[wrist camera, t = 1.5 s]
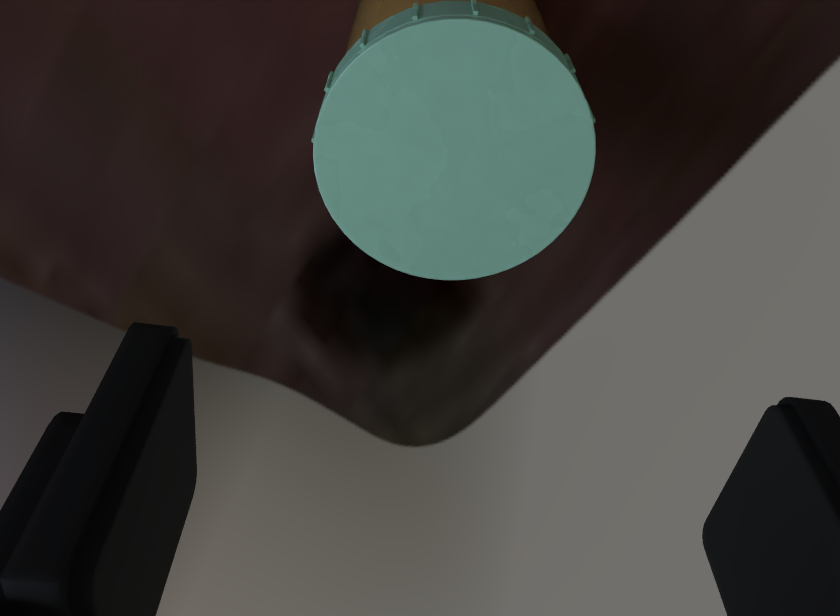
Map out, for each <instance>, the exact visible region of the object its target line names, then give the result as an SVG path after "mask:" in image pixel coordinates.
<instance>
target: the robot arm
mask: <svg viewBox="0 0 840 616" xmlns="http://www.w3.org/2000/svg"><path fill="white" fill-rule="evenodd" d="M196 477H197V464H196V439H195V415H194V391H193V368H192V346H191V341H190V340H189V339H184V338H179V337H178V331H177V328H175V327H171V326H162V325H154V324H145V323H136V322H134V323H133V324H131V326H130V327H129V329H128V331H127V333H126V335H125V337H124V339H123V341H122V342H121V345H120V346H119V348H118V350H117V352H116V354H115V356H114V358H113V360H112V362H111V364H110V366H109V368H108V370H107V371H106V373H105V375H104V377H103V379H102V381H101V383H100V385H99V387H98V389H97V391H96V393H95V395H94V397H93V399H92V401H91V402H90V405H89V406H88V408H87V410H86V412H85V414H80V413H70V412H60V413H58V414H57V415H56V416H54V418H53V419H52V421H51V422H50V424H49V425H48V427H47V428H46V430H45V432H44V434H43V436H42V437H41V439H40V441H39V443H38V444H37V446H36V448H35V450H34V452H33V453H32V455H31V457H30V459H29V460H28V462H27V464H26V466H25V468H24V469H23V471H22V473H21V475H20V477H19V478H18V480H17V482H16V484H15V485H14V487H13V489H12V491H11V492H10V494H9V496H8V498H7V500H6V501H5V503H4V505H3V507H2V509H1V510H0V616H155V615H156V613H157V609H158V606H159V603H160V600H161V596H162V594H163V590H164V587H165V584H166V580H167V577H168V574H169V571H170V568H171V565H172V562H173V559H174V555H175V552H176V549H177V545H178V543H179V540H180V536H181V533H182V530H183V527H184V524H185V520H186V517H187V514H188V511H189V507H190V505H191V501H192V498H193V495H194V490H195V485H196ZM702 538H703V545H704V549H705V551H706V555H707V558H708V561H709V563H710V566H711V569H712V572H713V575H714V578H715V581H716V583H717V587H718V590H719V592H720V595H721V598H722V601H723V604H724V607H725V610H726V612H727V616H840V417H839V415H838V413H837V412H836V410H835V409H834V407H833V406H832V405H831V404H830V403H828V402H826V401H820V400H812V399H803V398H794V397H785V398H783V399H782V400H780V401H779V403H778V404H777V405H773V406H770V407H768V409H767V410H766V411H765V413H764V415H763V416H762V418H761V420H760V422H759V424H758V425H757V427H756V429H755V431H754V433H753V435H752V436H751V438H750V440H749V442H748V444H747V446H746V447H745V449H744V451H743V453H742V455H741V457H740V459H739V460H738V462H737V464H736V466H735V468H734V469H733V471H732V473H731V475H730V477H729V479H728V480H727V482H726V484H725V486H724V488H723V490H722V492H721V493H720V495H719V497H718V499H717V501H716V502H715V504H714V506H713V508H712V510H711V512H710V514H709V515H708V517H707V519H706V521H705V523H704V527H703V535H702Z"/></svg>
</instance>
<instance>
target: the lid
mask: <svg viewBox="0 0 840 616" xmlns="http://www.w3.org/2000/svg"><path fill="white" fill-rule="evenodd" d="M575 72H576V70H575V68H574V66H573V64H572V61H571V59H570V57H569V55H568V54H567V53H566V54H565V55H563V53H562V52H561V50H560V49H559V48H558V47H557V46H556V45H555V43H554V42H553V41H552V40H551V39H550V38H549V37H548V36H547V35H546V34H544V33H543V32H542V31H541V30H540V29H538V28H537V27H536V26H535V25H533V24H532V22H531V20H530V18H529V17H527V16H526V17H525V18H524V19H523V18H522V17H520V16H518V15H517V14H514V13H511V12H509V11H507V10H504V9H502V8H499V7H495V6H492V5H488V4H485V3H479V2H476V0H471V2H470V1H440V2H434V3H427V4H423V5H419V6H418V3H417V2H416V3H413V7H412V8H408V9H406V10H404V11H402V12H399V13H397V14H395V15H393V16H390V17H389V18H387V19H385V20H384V21H382V22H381V23H379V24H377V25H375V26H374V27H373V28H372V29H370V30H369V31H368V30H367V29H365V30H363V32H362V36H361V38H359V40H358V41H357V42H356V43H355V44H354V45H353V46H352V47H351V48H350V49H349V51H348V52H347V53H346V54H345V56H344V57H343V59H342V60H341V62H340V63H339V65H338V66H337V68H336V70H335V72H332V71H331V72H330V74H329V77H328V80H327V83H326V86H325V90H324V91H326V94H325V97H324V100H323V103H322V106H321V110H320V113H319V116H318V120H317V123H316V126H315V130H314V133H313V136H312V143H314V147H313V159H314V169H315V175H316V179H317V183H318V187H319V190H320V193H321V196H322V198H323V201H324V203H325V205H326V207H327V209H328V211H329V212H330V214H331V216H332V218H333V219H334V221H335V222H336V223H337V225H338V226H339V227H340V229H341V230H342V231H343V232H344V233H345V234H346V235H347V237H348V238H349V239H350V240H351V241H352V242H353V243H354V244H355V245H357V246H358V247H359V248H360V249H362V250H363V251H364V252H365V253H367V254H368V255H370V256H371V257H373V258H375V259H376V260H378V261H379V262H381V263H383V264H385V265H387V266H389V267H392V268H394V269H396V270H399V271H402V272H405V273H408V274H411V275H415V276H419V277H424V278H429V279H439V280H464V279H473V278H480V277H484V276H488V275H493V274H496V273H499V272H502V271H505V270H507V269H510V268H512V267H514V266H516V265H518V264H521V263H523V262H525V261H526V260H528V259H529V258H531V257H533V256H534V255H536V254H538V253H539V252H540V251H542V250H543V249H544V248H545V247H547V246H548V245H549V244H550V243H552V242H553V241H554V240H555V239H556V238H557V237H558V236H559V234H560V233H561V232H562V231H563V230H564V229H565V228H566V227H567V225H568V224H569V223H570V221H571V220H572V219H573V217H574V216H575V214H576V212H577V211H578V209H579V207H580V206H581V204H582V202H583V200H584V198H585V195H586V193H587V190H588V188H589V185H590V182H591V178H592V174H593V170H594V163H595V155H596V137H595V130H594V124H593V123H595V118H594V116H593V113H592V111H591V109H590V107H589V104H588V102H587V100H586V98H585V95H584V93H583V91H582V89H581V86H580V84H579V82H578V80H577V78H576V76H575V74H574V73H575Z"/></svg>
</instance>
